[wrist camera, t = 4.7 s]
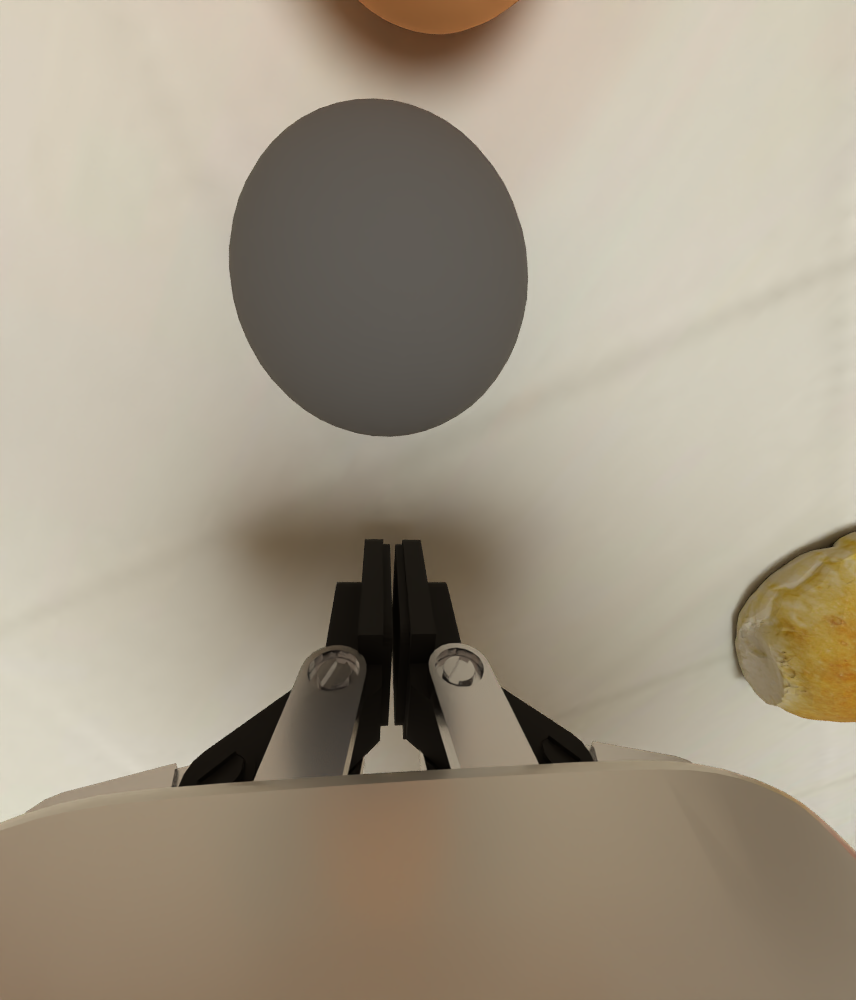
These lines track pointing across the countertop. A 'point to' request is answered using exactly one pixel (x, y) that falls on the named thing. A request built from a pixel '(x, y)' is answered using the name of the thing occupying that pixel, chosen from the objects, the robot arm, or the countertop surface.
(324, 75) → the countertop surface
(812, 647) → the bread roll
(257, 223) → the dark gray ball
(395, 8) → the object ball
